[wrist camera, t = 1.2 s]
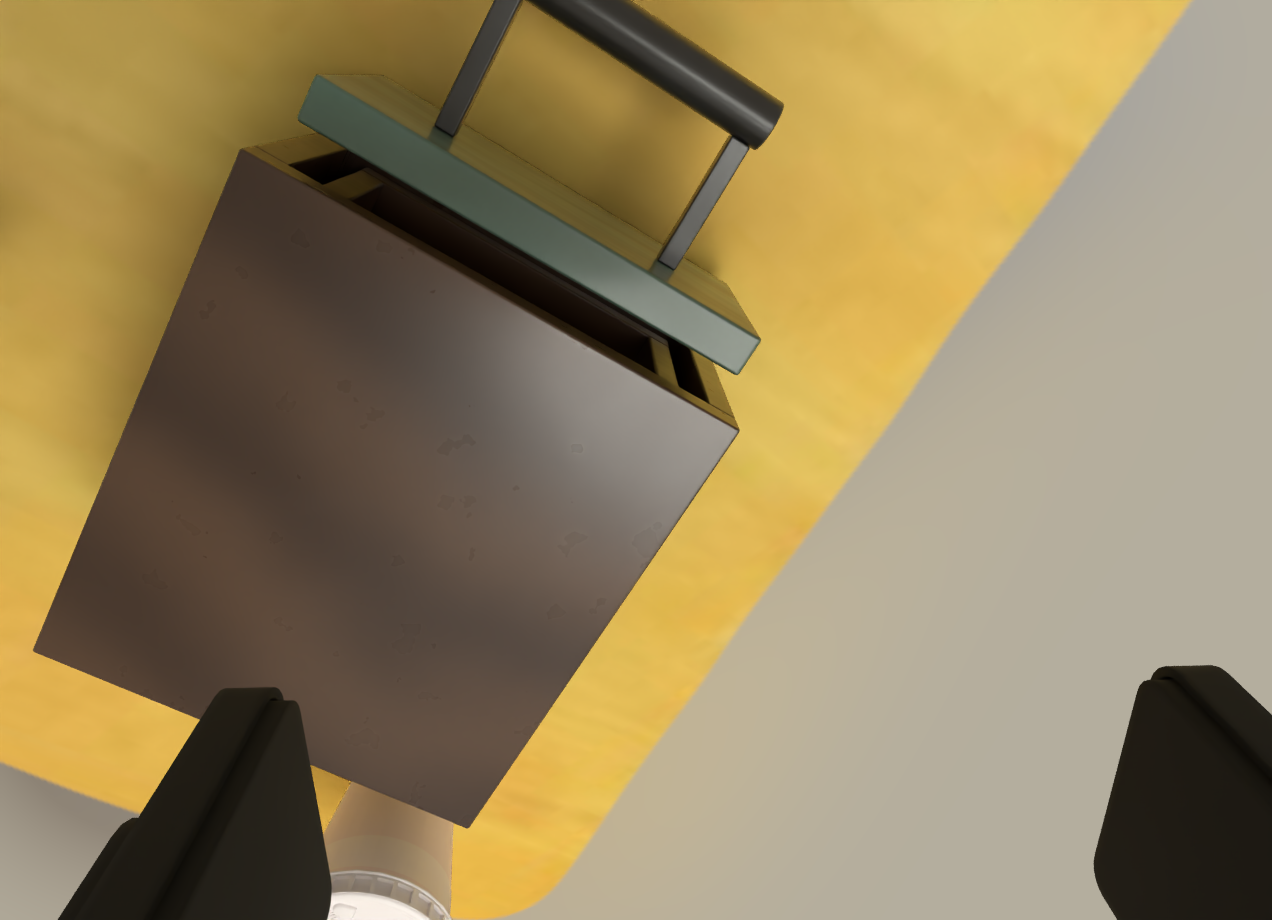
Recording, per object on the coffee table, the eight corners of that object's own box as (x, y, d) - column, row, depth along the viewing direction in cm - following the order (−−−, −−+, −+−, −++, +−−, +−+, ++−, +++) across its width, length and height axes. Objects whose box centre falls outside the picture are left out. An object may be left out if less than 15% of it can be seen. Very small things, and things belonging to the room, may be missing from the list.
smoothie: (518, 761, 39) (478, 1101, 26) (416, 839, 40) (330, 1196, 27) (407, 671, 37) (304, 992, 24) (304, 757, 38) (155, 1101, 25)
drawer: (460, -101, 26) (414, -160, 19) (820, 140, 28) (883, 158, 22) (206, 458, 32) (108, 553, 26) (521, 609, 35) (504, 728, 28)
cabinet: (341, 127, 29) (239, 147, 21) (705, 340, 32) (741, 430, 24) (167, 514, 34) (31, 651, 26) (497, 664, 37) (468, 830, 29)
